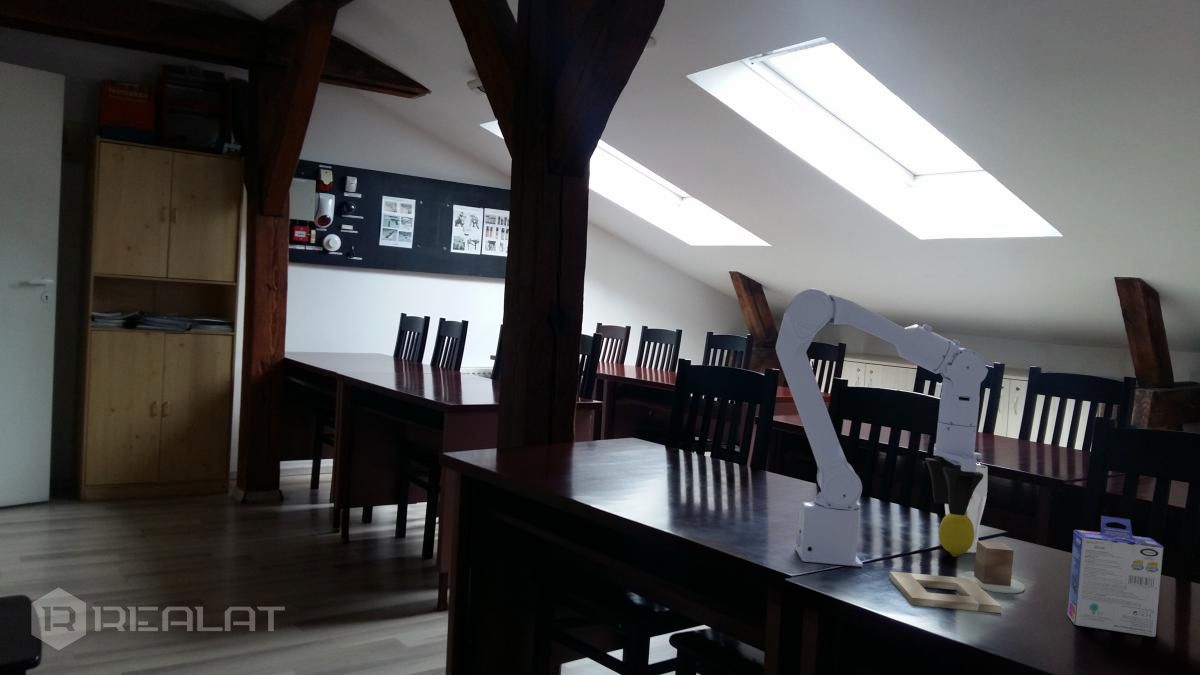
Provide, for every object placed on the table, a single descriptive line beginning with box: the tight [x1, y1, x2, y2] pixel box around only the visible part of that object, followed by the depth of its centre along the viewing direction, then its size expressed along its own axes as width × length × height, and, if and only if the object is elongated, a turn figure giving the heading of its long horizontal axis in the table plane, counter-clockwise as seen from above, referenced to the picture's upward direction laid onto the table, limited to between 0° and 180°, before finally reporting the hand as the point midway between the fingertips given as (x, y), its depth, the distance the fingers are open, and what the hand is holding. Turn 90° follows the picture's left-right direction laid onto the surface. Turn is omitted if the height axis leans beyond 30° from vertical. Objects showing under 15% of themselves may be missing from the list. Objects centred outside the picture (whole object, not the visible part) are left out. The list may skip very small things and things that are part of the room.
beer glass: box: [944, 463, 989, 554], centre depth 151 cm, size 7×7×15 cm
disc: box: [959, 571, 1025, 594], centre depth 132 cm, size 9×9×1 cm
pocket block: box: [888, 570, 1002, 614], centre depth 124 cm, size 12×12×1 cm
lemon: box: [938, 513, 974, 558], centre depth 146 cm, size 6×6×8 cm
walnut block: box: [973, 540, 1015, 586], centre depth 132 cm, size 4×4×6 cm
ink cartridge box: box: [1067, 515, 1164, 638], centre depth 116 cm, size 10×6×14 cm, turn 74°
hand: (949, 508), depth 136 cm, fingers open, 7 cm apart
